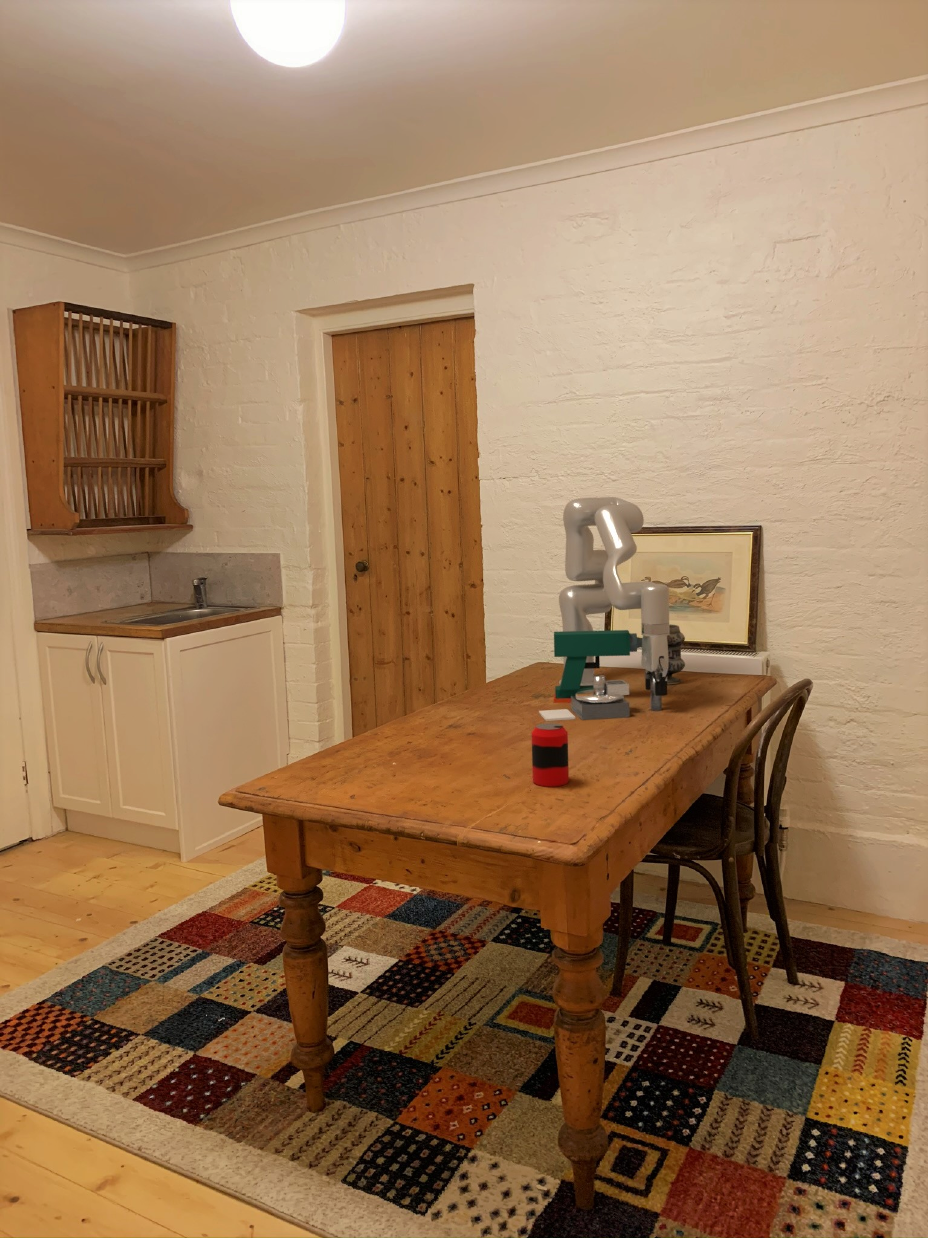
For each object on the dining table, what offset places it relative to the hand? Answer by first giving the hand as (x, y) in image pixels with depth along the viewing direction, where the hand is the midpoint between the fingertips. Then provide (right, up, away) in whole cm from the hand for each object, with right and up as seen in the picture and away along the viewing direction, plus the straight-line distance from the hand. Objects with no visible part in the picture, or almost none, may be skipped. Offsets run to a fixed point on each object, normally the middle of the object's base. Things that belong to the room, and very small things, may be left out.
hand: (656, 692), depth 263 cm
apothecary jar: (+11, 0, +39) cm, 40 cm away
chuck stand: (-16, -6, -1) cm, 17 cm away
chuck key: (0, -5, +1) cm, 5 cm away
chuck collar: (-15, -1, -2) cm, 16 cm away
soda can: (-35, -14, -62) cm, 73 cm away
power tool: (-11, -4, +16) cm, 20 cm away
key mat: (-28, -6, -2) cm, 28 cm away
